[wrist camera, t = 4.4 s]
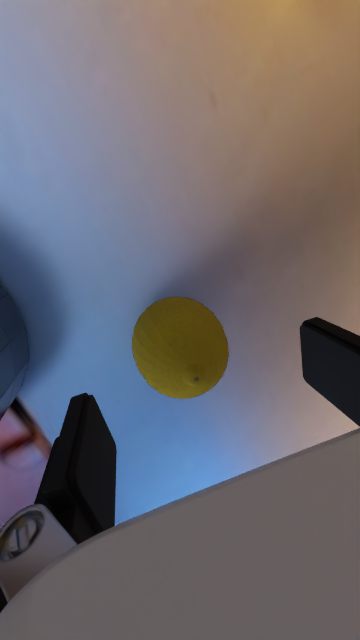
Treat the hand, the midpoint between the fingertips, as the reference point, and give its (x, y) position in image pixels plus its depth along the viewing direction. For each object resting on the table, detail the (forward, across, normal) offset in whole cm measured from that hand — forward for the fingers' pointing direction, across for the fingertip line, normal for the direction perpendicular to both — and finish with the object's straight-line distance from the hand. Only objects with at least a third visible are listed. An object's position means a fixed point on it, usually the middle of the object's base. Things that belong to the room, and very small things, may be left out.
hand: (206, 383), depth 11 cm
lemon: (+9, 0, 0) cm, 9 cm away
